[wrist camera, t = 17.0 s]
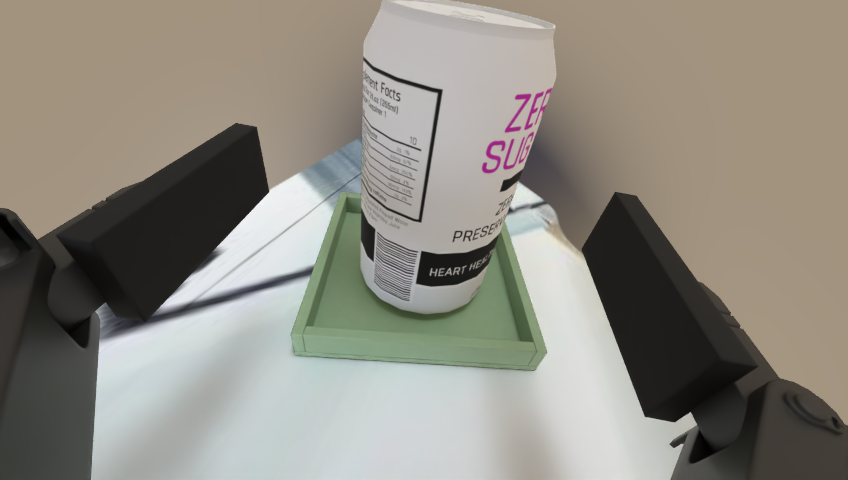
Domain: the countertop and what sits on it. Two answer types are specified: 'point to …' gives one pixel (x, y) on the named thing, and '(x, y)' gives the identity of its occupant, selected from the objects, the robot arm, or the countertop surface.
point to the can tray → (409, 331)
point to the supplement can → (445, 143)
